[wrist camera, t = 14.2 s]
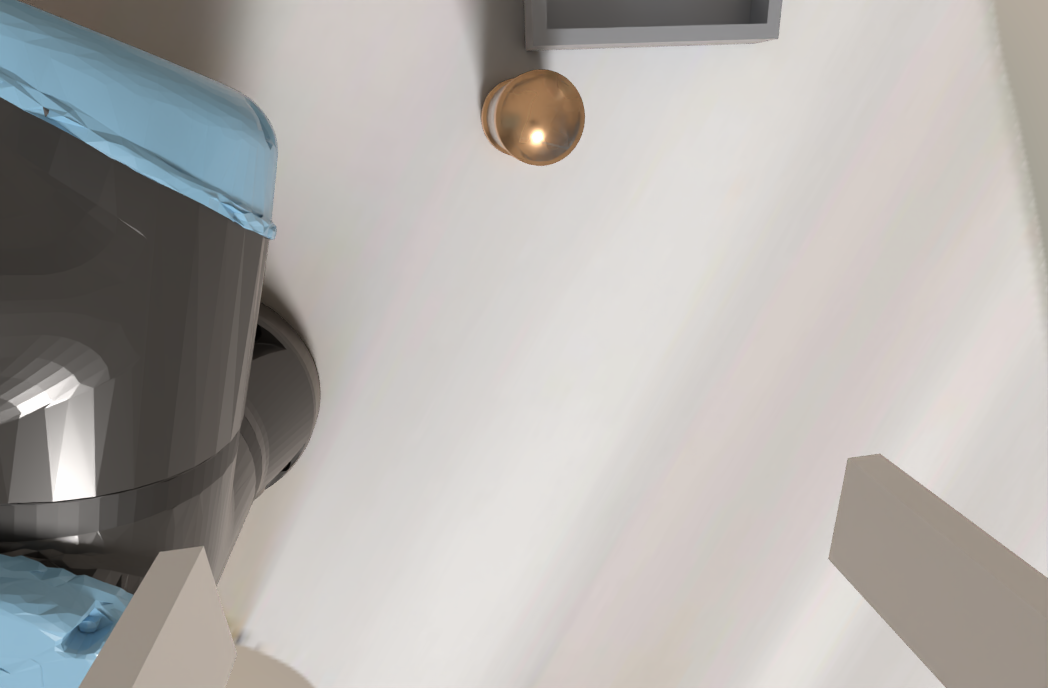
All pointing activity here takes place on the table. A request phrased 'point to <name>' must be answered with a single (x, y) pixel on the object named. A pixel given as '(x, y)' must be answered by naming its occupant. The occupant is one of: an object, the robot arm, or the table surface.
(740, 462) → the table surface
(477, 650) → the table surface
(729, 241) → the table surface
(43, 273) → the robot arm
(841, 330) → the table surface
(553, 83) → the fuse
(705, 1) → the parts tray
